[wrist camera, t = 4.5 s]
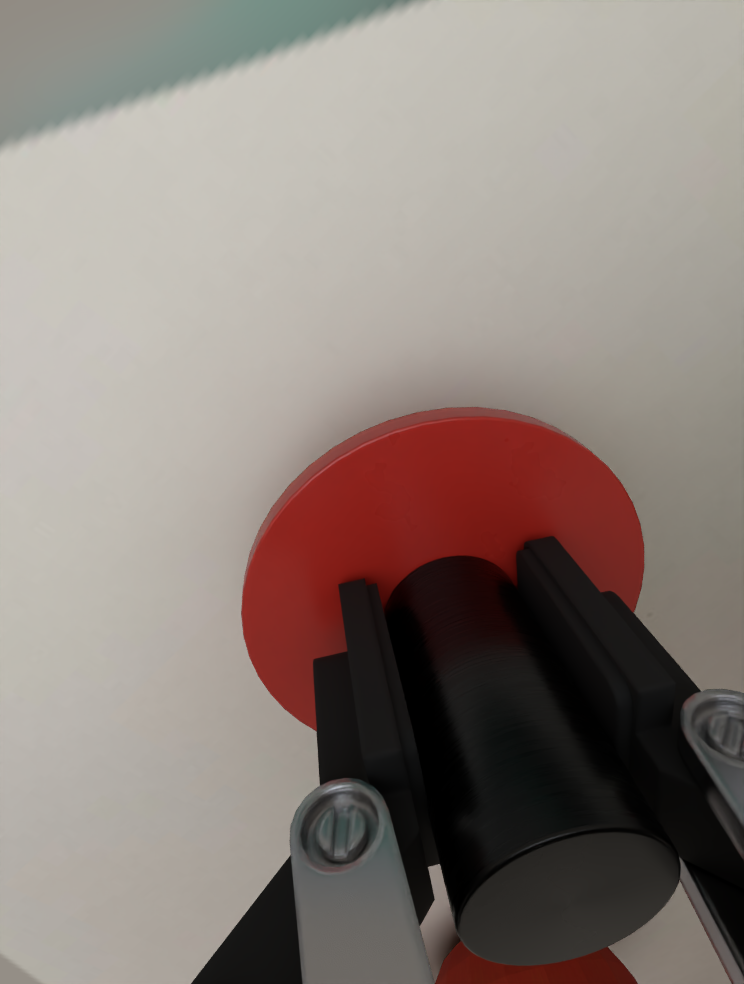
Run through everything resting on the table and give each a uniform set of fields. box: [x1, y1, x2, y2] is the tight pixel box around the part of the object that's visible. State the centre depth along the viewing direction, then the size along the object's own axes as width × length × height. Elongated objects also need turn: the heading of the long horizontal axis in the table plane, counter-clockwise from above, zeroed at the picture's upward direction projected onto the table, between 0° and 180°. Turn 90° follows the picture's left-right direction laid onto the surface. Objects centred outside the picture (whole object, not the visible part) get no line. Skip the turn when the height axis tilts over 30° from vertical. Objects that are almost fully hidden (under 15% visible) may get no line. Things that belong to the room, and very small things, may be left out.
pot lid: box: [241, 407, 681, 966], centre depth 9 cm, size 8×8×6 cm
